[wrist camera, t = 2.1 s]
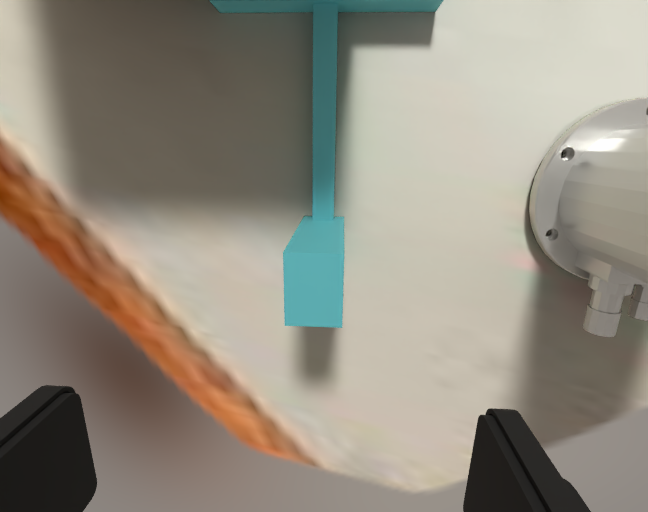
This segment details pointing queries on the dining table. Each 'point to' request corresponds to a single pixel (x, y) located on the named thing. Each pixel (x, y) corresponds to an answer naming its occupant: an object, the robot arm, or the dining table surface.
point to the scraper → (320, 163)
